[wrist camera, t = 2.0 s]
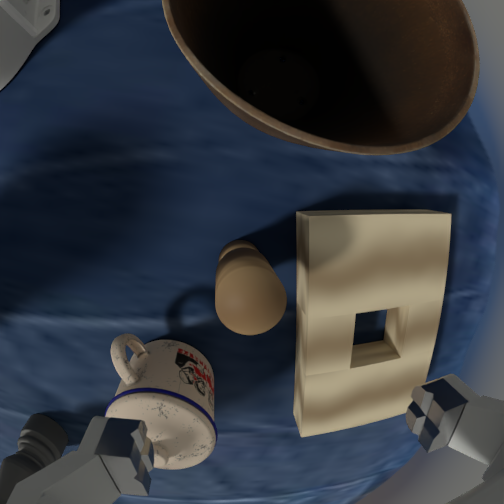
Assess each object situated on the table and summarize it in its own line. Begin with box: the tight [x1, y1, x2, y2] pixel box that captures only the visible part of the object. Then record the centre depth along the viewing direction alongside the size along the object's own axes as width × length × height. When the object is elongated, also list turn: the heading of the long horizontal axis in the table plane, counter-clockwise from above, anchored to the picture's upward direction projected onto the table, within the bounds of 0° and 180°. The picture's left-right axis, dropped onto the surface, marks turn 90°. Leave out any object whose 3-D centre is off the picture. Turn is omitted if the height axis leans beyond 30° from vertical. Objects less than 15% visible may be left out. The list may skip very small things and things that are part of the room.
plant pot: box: [162, 0, 480, 155], centre depth 16 cm, size 15×15×16 cm
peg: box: [215, 240, 287, 335], centre depth 22 cm, size 4×4×10 cm
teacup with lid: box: [105, 334, 217, 469], centre depth 23 cm, size 12×9×12 cm
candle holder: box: [0, 414, 68, 504], centre depth 17 cm, size 6×6×25 cm
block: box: [293, 209, 451, 437], centre depth 28 cm, size 22×14×4 cm, turn 2°
